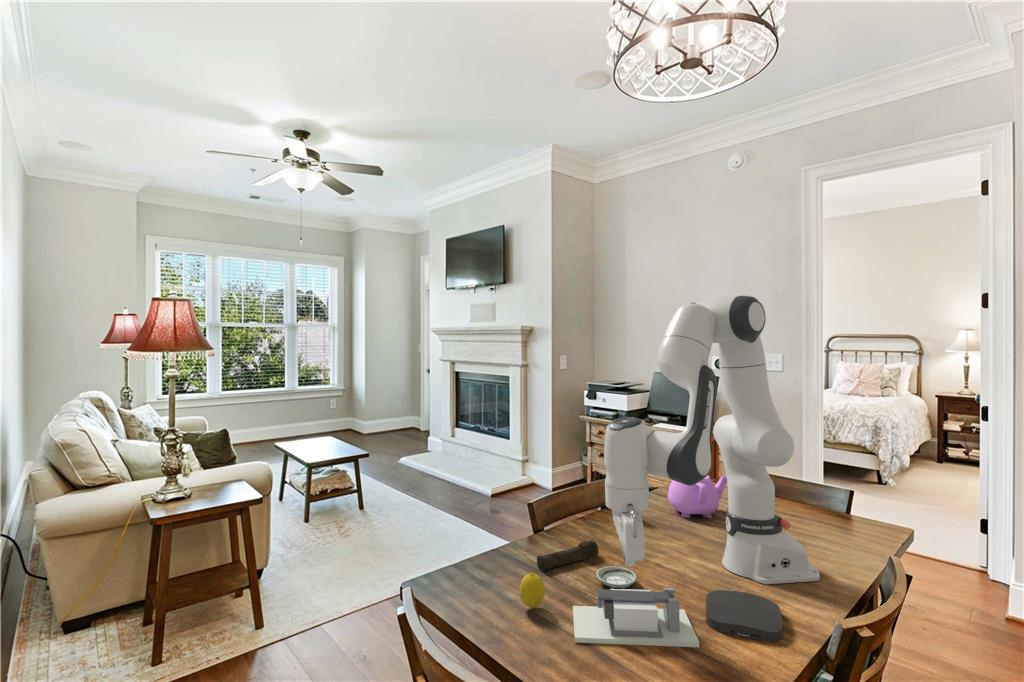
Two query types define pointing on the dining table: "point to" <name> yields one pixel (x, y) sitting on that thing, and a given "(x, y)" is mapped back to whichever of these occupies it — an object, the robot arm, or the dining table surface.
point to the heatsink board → (601, 632)
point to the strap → (631, 596)
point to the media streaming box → (744, 615)
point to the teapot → (696, 497)
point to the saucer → (616, 576)
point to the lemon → (532, 590)
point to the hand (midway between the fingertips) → (628, 563)
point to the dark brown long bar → (568, 556)
